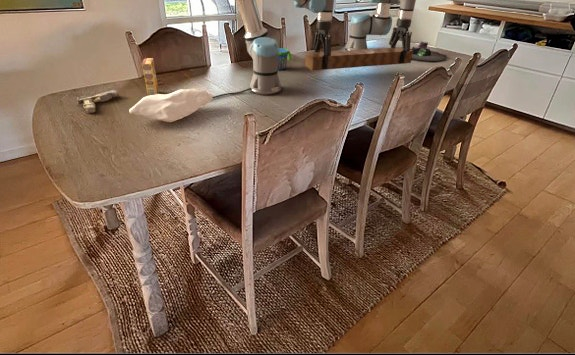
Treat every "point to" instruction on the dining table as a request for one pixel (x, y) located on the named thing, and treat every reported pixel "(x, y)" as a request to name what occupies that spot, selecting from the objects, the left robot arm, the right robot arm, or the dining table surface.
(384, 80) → the dining table surface
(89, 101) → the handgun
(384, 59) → the thick board
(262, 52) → the left robot arm
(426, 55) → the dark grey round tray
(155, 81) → the candy box
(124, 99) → the dining table surface
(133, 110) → the crumpled cloth
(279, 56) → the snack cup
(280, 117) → the dining table surface
